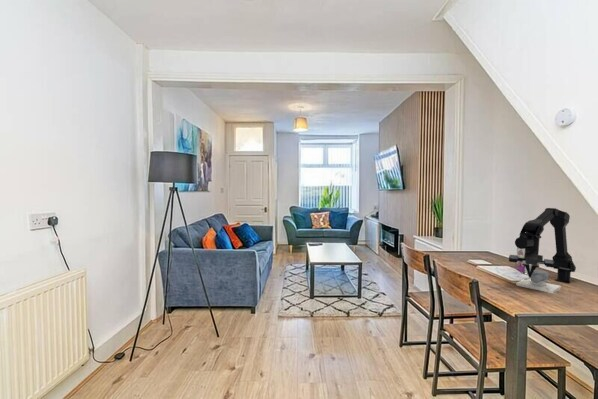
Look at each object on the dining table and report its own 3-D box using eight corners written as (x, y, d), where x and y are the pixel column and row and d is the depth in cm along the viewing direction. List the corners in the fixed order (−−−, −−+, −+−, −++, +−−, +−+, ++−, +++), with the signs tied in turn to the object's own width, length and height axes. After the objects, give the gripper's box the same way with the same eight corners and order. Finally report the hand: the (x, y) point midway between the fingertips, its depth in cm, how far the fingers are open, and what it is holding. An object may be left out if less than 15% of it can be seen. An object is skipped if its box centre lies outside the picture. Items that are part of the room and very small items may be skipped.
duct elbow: (530, 275, 179) (530, 267, 179) (549, 278, 174) (549, 270, 174) (525, 281, 168) (526, 273, 168) (545, 284, 163) (545, 276, 163)
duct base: (525, 280, 184) (525, 273, 184) (560, 288, 172) (561, 280, 172) (516, 285, 176) (516, 277, 176) (552, 293, 164) (553, 285, 163)
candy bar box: (515, 269, 208) (516, 243, 208) (524, 269, 207) (525, 243, 207) (523, 274, 198) (525, 246, 197) (533, 274, 196) (534, 247, 196)
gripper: (509, 247, 166) (507, 277, 167) (556, 252, 156) (554, 285, 157) (510, 243, 176) (508, 272, 177) (554, 248, 165) (552, 279, 167)
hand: (529, 277), depth 169 cm, fingers closed
